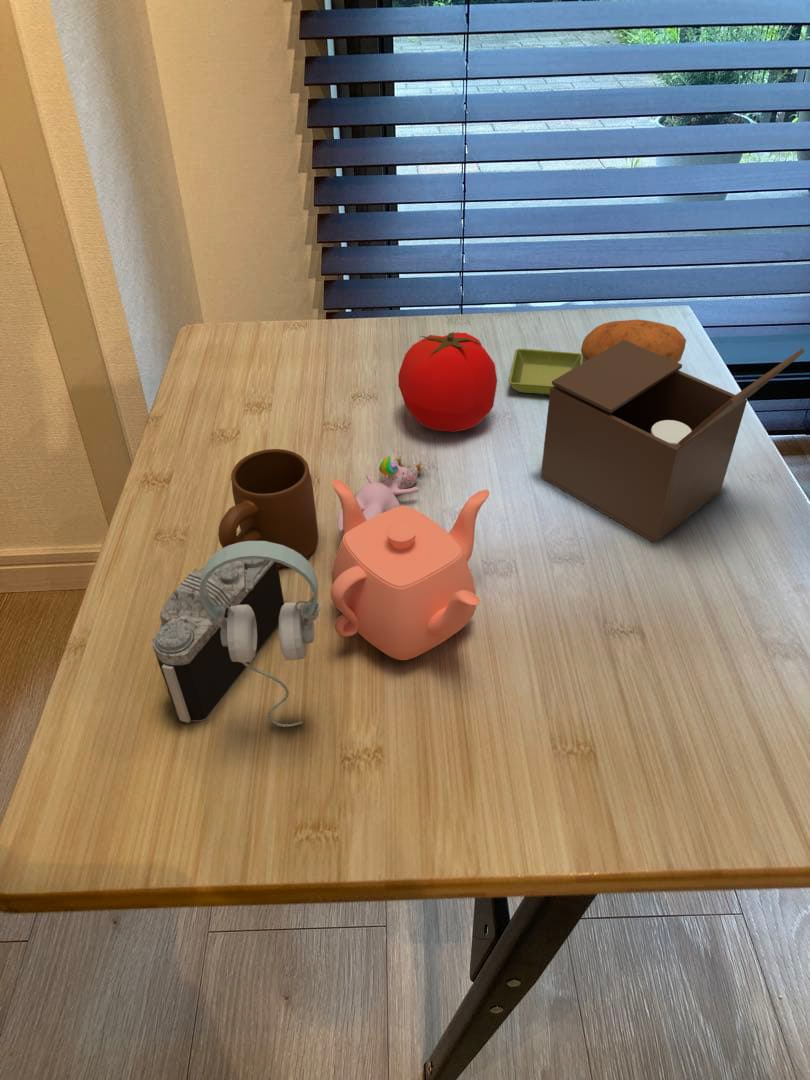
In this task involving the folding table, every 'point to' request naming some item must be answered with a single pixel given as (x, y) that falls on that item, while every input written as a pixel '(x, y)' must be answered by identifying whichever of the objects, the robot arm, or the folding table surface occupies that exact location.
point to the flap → (741, 396)
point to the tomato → (448, 382)
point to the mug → (272, 502)
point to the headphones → (241, 618)
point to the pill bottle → (670, 431)
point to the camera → (212, 633)
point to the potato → (635, 338)
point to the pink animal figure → (384, 489)
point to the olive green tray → (540, 369)
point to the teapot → (403, 576)
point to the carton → (637, 438)
